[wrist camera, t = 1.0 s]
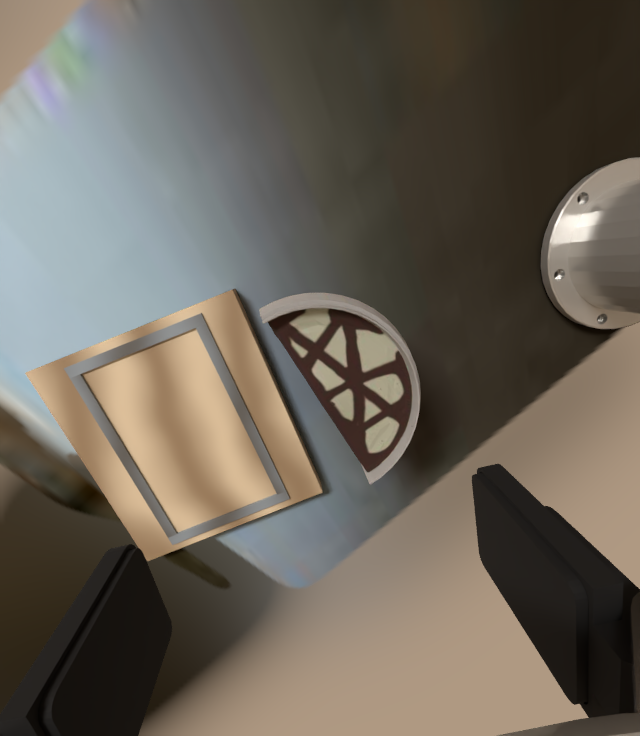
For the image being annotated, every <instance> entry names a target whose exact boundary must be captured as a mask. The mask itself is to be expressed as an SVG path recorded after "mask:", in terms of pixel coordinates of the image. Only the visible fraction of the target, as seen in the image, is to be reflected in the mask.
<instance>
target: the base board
mask: <svg viewBox="0 0 640 736" xmlns="http://www.w3.org/2000/svg"><path fill="white" fill-rule="evenodd" d="M25 374H26V375H27V377H28V378H29V380H30V381H31V383H32V384H33V386H34V387H35V389H36V390H37V392H38V394H39V395H40V397H41V398H42V400H43V401H44V403H45V404H46V406H47V407H48V409H49V410H50V412H51V413H52V415H53V417H54V418H55V420H56V421H57V423H58V424H59V426H60V427H61V429H62V430H63V432H64V433H65V435H66V437H67V438H68V440H69V441H70V443H71V444H72V446H73V447H74V449H75V450H76V452H77V453H78V455H79V457H80V458H81V460H82V461H83V463H84V464H85V466H86V467H87V469H88V470H89V472H90V473H91V475H92V476H93V478H94V480H95V481H96V483H97V484H98V486H99V487H100V489H101V490H102V492H103V493H104V495H105V497H106V498H107V500H108V501H109V503H110V504H111V506H112V507H113V509H114V510H115V512H116V513H117V515H118V517H119V518H120V520H121V521H122V523H123V524H124V526H125V527H126V529H127V530H128V532H129V533H130V535H131V537H132V538H133V539H134V541H135V543H136V544H137V546H138V547H139V549H141V550H142V552H143V554H144V556H145V558H146V559H147V561H150V560H152V559H155V558H157V557H160V556H162V555H165V554H167V553H170V552H172V551H175V550H178V549H180V548H183V547H185V546H187V545H190V544H193V543H195V542H198V541H200V540H203V539H206V538H208V537H211V536H213V535H216V534H218V533H221V532H223V531H226V530H228V529H231V528H234V527H236V526H239V525H241V524H244V523H246V522H249V521H251V520H254V519H256V518H259V517H261V516H264V515H267V514H269V513H272V512H274V511H277V510H279V509H282V508H284V507H287V506H289V505H292V504H295V503H297V502H300V501H302V500H305V499H307V498H310V497H312V496H315V495H317V494H320V493H322V492H323V491H322V485H321V481H320V479H319V477H318V475H317V472H316V470H315V468H314V465H313V463H312V461H311V459H310V456H309V454H308V452H307V450H306V447H305V445H304V443H303V441H302V438H301V436H300V434H299V432H298V429H297V427H296V425H295V423H294V420H293V418H292V416H291V414H290V411H289V409H288V407H287V405H286V402H285V400H284V398H283V395H282V393H281V391H280V389H279V386H278V384H277V382H276V380H275V377H274V375H273V373H272V371H271V368H270V366H269V364H268V362H267V359H266V357H265V355H264V353H263V350H262V348H261V346H260V344H259V341H258V339H257V337H256V335H255V332H254V330H253V328H252V326H251V323H250V321H249V319H248V316H247V314H246V312H245V310H244V307H243V305H242V303H241V301H240V298H239V296H238V294H237V292H236V289H233V290H230V291H228V292H225V293H223V294H220V295H218V296H215V297H213V298H211V299H208V300H206V301H203V302H201V303H198V304H196V305H193V306H191V307H188V308H186V309H183V310H181V311H178V312H176V313H173V314H171V315H168V316H166V317H163V318H161V319H158V320H156V321H153V322H151V323H148V324H146V325H143V326H141V327H138V328H136V329H133V330H131V331H128V332H126V333H123V334H121V335H118V336H116V337H113V338H111V339H108V340H106V341H103V342H101V343H98V344H96V345H93V346H91V347H88V348H86V349H83V350H81V351H78V352H76V353H74V354H71V355H69V356H66V357H64V358H61V359H59V360H56V361H54V362H51V363H49V364H46V365H44V366H41V367H39V368H36V369H34V370H31V371H29V372H26V373H25Z"/></svg>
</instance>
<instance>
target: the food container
mask: <svg viewBox="0 0 640 736" xmlns="http://www.w3.org/2000/svg"><path fill="white" fill-rule="evenodd" d="M259 311H260V317H261V318H262V320H263V322H262V323H263V324H264V323H266V322H268V323H269V325H270V327H271V328H272V330H273V332H274V334H275V335H276V336H277V337H278V338H279V340H280V341H281V343H282V344H283V346H284V347H285V349H286V350H287V352H288V353H289V355H290V356H291V358H292V359H293V361H294V363H295V364H296V366H297V367H298V369H299V370H300V372H301V373H302V375H303V376H304V378H305V379H306V381H307V382H308V384H309V385H310V387H311V389H312V390H313V392H314V393H315V395H316V396H317V398H318V400H319V401H320V403H321V404H322V406H323V407H324V409H325V410H326V412H327V413H328V414H329V416H330V417H331V419H332V420H333V422H334V423H335V425H336V426H337V428H338V429H339V431H340V433H341V434H342V436H343V437H344V439H345V440H346V442H347V443H348V445H349V446H350V448H351V449H352V451H353V452H354V454H355V455H356V457H357V458H358V460H359V461H360V463H361V465H362V467H363V469H364V472H365V474H366V477H367V479H368V481H369V484H370V485H371V484H372V483H373V482H375V481H376V480H378V479H379V478H381V477H382V476H383V475H384V474H385V473H386V472H387V471H389V470H390V469H391V468H392V467H393V466H394V465H395V463H396V462H397V461H398V460H399V458H400V457H401V456H402V455H403V453H404V451H405V450H406V448H407V446H408V445H409V443H410V441H411V438H412V436H413V433H414V431H415V428H416V424H417V420H418V416H419V411H420V400H421V391H420V380H419V376H418V372H417V368H416V364H415V362H414V360H413V357H412V355H411V353H410V351H409V348H408V346H407V344H406V342H405V340H404V339H403V338H402V336H401V335H400V333H399V332H398V330H397V329H396V328H395V327H394V326H393V325H392V324H391V323H390V322H389V320H388V319H387V318H386V317H384V316H383V315H381V314H380V313H379V312H377V311H376V310H375V309H373V308H372V307H370V306H368V305H366V304H364V303H362V302H360V301H358V300H355V299H352V298H349V297H346V296H343V295H337V294H330V293H304V294H299V295H293V296H288V297H286V298H283V299H280V300H277V301H274V302H272V303H270V304H268V305H266V306H264V307H262V308H260V309H259Z"/></svg>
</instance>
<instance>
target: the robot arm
mask: <svg viewBox="0 0 640 736" xmlns="http://www.w3.org/2000/svg"><path fill="white" fill-rule="evenodd" d="M541 273H542V280H543V284H544V286H545V289H546V292H547V295H548V297H549V298H550V300H551V301H552V303H553V305H554V306H555V307H556V308H557V309H558V310H559V311H560V312H561V313H562V314H563V315H564V316H565V317H567V318H568V319H570V320H572V321H573V322H575V323H578V324H581V325H584V326H587V327H592V328H598V329H617V328H622V327H627V326H630V325H633V324H635V323H638V322H640V158H629V159H625V160H622V161H618V162H615V163H612V164H609V165H607V166H604V167H602V168H599V169H597V170H595V171H594V172H592V173H591V174H589V175H587V176H586V177H584V178H583V179H582V180H581V181H580V182H578V183H577V184H576V185H575V186H574V187H573V188H572V189H571V190H570V191H569V192H568V193H567V195H566V196H565V197H564V198H563V200H562V201H561V202H560V203H559V205H558V207H557V208H556V210H555V212H554V214H553V215H552V217H551V219H550V222H549V224H548V227H547V230H546V232H545V235H544V240H543V245H542V249H541ZM472 486H473V496H474V505H475V516H476V526H477V536H478V547H479V554H480V558H481V561H482V563H483V565H484V567H485V569H486V570H487V572H488V573H489V575H490V576H491V578H492V580H493V581H494V583H495V584H496V586H497V587H498V589H499V591H500V592H501V594H502V595H503V597H504V598H505V600H506V602H507V603H508V605H509V606H510V608H511V610H512V611H513V613H514V614H515V616H516V618H517V619H518V621H519V622H520V624H521V625H522V627H523V629H524V630H525V632H526V633H527V635H528V636H529V638H530V640H531V641H532V643H533V644H534V646H535V647H536V649H537V651H538V652H539V654H540V655H541V657H542V659H543V660H544V662H545V663H546V665H547V666H548V668H549V670H550V671H551V673H552V674H553V676H554V677H555V679H556V681H557V682H558V684H559V685H560V687H561V688H562V690H563V692H564V693H565V695H566V696H567V698H568V699H569V700H570V701H571V702H572V703H573V704H574V705H575V704H580V705H581V706H582V708H583V709H584V711H585V712H586V714H587V715H588V717H589V718H585V719H579V720H573V721H568V722H564V723H559V724H553V725H548V726H544V727H538V728H533V729H529V730H523V731H518V732H513V733H508V734H503V735H499V736H640V589H639V588H638V587H636V586H635V585H634V584H633V583H632V582H631V581H630V580H629V579H628V578H627V577H626V576H625V575H624V574H623V573H622V572H621V571H619V570H618V569H617V568H616V567H615V566H614V565H613V564H612V563H611V562H610V561H609V560H608V559H607V558H606V557H604V556H603V555H602V554H601V553H600V552H599V551H598V550H597V549H596V548H595V547H594V546H593V545H592V544H591V543H590V542H588V541H587V540H586V539H585V538H584V537H583V536H582V535H581V534H580V533H579V532H578V531H577V530H576V529H575V528H573V527H572V526H571V525H570V524H569V523H568V522H567V521H566V520H565V519H564V518H563V517H562V516H561V515H560V514H559V513H557V512H556V511H555V510H554V509H552V508H551V507H548V506H543V505H542V504H541V503H540V502H539V501H538V500H537V499H536V498H535V497H534V496H533V495H532V494H531V493H530V492H529V491H528V490H527V489H526V488H525V487H523V486H522V485H521V484H520V483H519V482H518V481H517V480H516V479H515V478H514V477H513V476H512V475H511V474H510V473H509V472H508V471H507V470H506V469H505V468H504V467H503V466H501V465H500V464H495V465H490V466H486V467H481V468H478V470H477V474H475V475H473V476H472ZM171 632H172V625H171V620H170V617H169V615H168V613H167V610H166V608H165V605H164V603H163V600H162V598H161V595H160V593H159V591H158V588H157V586H156V583H155V581H154V578H153V576H152V574H151V571H150V569H149V566H148V564H147V562H146V559H145V557H144V554H143V552H142V550H141V549H139V548H137V549H136V547H135V546H134V545H131V544H129V545H125V546H121V547H116V548H111V549H109V550H108V551H107V552H106V553H105V555H104V556H103V558H102V559H101V561H100V562H99V564H98V565H97V567H96V569H95V570H94V572H93V573H92V575H91V576H90V578H89V579H88V581H87V582H86V584H85V585H84V587H83V588H82V590H81V592H80V593H79V594H78V596H77V598H76V599H75V601H74V602H73V604H72V605H71V607H70V608H69V610H68V611H67V613H66V614H65V616H64V617H63V619H62V621H61V622H60V624H59V625H58V627H57V628H56V630H55V631H54V633H53V634H52V636H51V637H50V639H49V640H48V642H47V644H46V645H45V647H44V649H43V650H42V651H41V653H40V655H39V656H38V657H37V659H36V660H35V662H34V663H33V665H32V666H31V668H30V669H29V671H28V673H27V674H26V676H25V677H24V679H23V680H22V682H21V683H20V685H19V686H18V688H17V689H16V691H15V693H14V694H13V696H12V697H11V699H10V700H9V702H8V703H7V705H6V706H5V708H4V709H3V711H2V712H1V714H0V736H138V734H139V731H140V728H141V725H142V722H143V719H144V716H145V713H146V710H147V707H148V704H149V701H150V698H151V695H152V692H153V689H154V686H155V683H156V680H157V677H158V674H159V671H160V668H161V665H162V662H163V659H164V656H165V653H166V649H167V646H168V644H169V641H170V637H171Z"/></svg>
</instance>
